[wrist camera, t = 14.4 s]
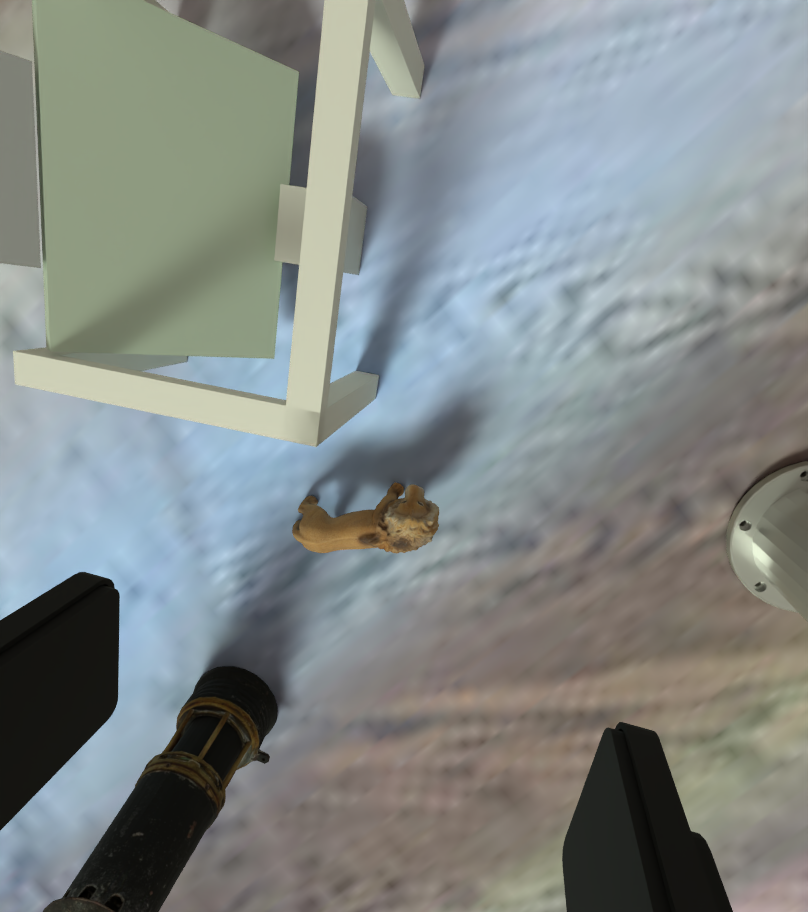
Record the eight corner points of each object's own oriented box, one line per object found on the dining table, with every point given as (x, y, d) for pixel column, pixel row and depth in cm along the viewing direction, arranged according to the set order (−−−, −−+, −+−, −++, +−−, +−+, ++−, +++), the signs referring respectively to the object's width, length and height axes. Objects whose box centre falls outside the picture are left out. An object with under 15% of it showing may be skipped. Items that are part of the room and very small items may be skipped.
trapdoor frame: (424, 66, 38) (377, -84, 23) (375, 398, 45) (316, 446, 30) (174, 35, 40) (-16, -120, 25) (165, 357, 47) (15, 384, 32)
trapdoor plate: (265, 81, 39) (298, 71, 36) (246, 347, 45) (274, 358, 42) (-446, -220, 19) (-502, -294, 16) (-315, 322, 25) (-339, 339, 22)
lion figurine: (436, 455, 45) (422, 491, 37) (456, 511, 47) (447, 559, 38) (285, 501, 49) (240, 543, 40) (307, 552, 50) (268, 604, 42)
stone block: (305, 197, 41) (367, 206, 41) (298, 265, 43) (358, 275, 42) (280, 183, 37) (350, 194, 36) (274, 260, 38) (341, 271, 38)
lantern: (289, 733, 56) (78, 1171, 28) (215, 742, 59) (-51, 1159, 30) (259, 660, 54) (0, 1053, 26) (183, 672, 57) (-133, 1048, 28)
